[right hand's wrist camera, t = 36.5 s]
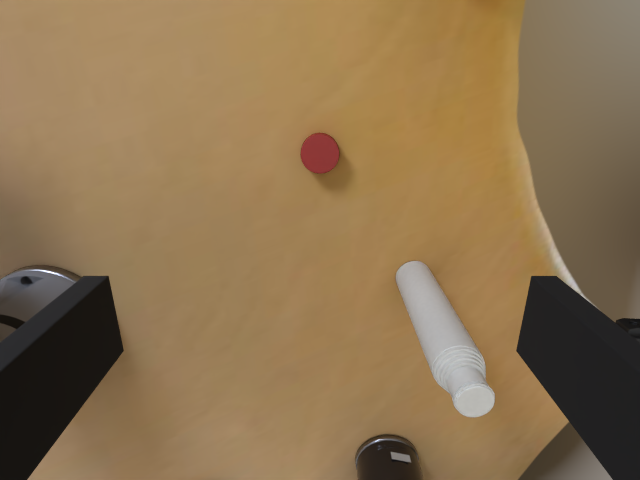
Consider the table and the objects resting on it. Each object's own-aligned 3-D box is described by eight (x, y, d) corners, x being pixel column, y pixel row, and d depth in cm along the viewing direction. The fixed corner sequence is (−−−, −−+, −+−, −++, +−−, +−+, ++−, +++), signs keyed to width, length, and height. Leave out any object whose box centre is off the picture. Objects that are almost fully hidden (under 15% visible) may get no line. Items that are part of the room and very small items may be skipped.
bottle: (427, 256, 50) (501, 372, 30) (433, 287, 51) (508, 418, 31) (392, 265, 50) (441, 385, 30) (399, 296, 52) (450, 430, 31)
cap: (298, 135, 45) (298, 137, 43) (336, 130, 45) (336, 132, 43) (304, 172, 46) (303, 175, 45) (340, 167, 46) (341, 170, 44)
